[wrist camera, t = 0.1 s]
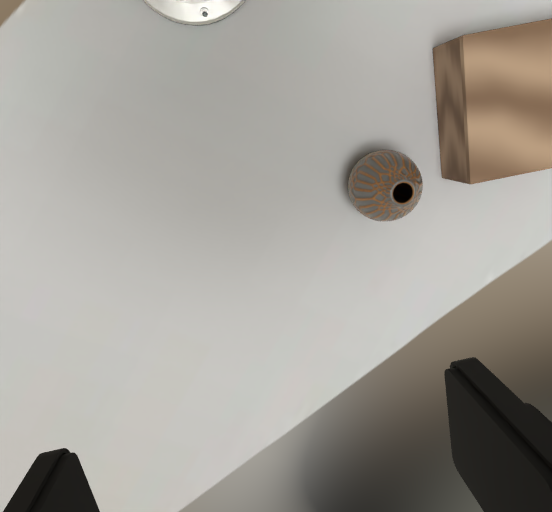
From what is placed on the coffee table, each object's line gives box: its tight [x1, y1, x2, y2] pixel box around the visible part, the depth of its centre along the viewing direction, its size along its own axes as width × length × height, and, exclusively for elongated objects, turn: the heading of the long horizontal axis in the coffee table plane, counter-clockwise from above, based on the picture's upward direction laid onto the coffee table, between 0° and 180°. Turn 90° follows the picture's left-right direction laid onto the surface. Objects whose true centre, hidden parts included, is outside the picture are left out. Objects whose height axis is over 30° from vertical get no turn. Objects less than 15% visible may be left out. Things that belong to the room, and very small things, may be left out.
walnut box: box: [433, 19, 552, 184], centre depth 42 cm, size 13×13×6 cm
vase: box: [348, 150, 423, 221], centre depth 42 cm, size 7×7×9 cm
